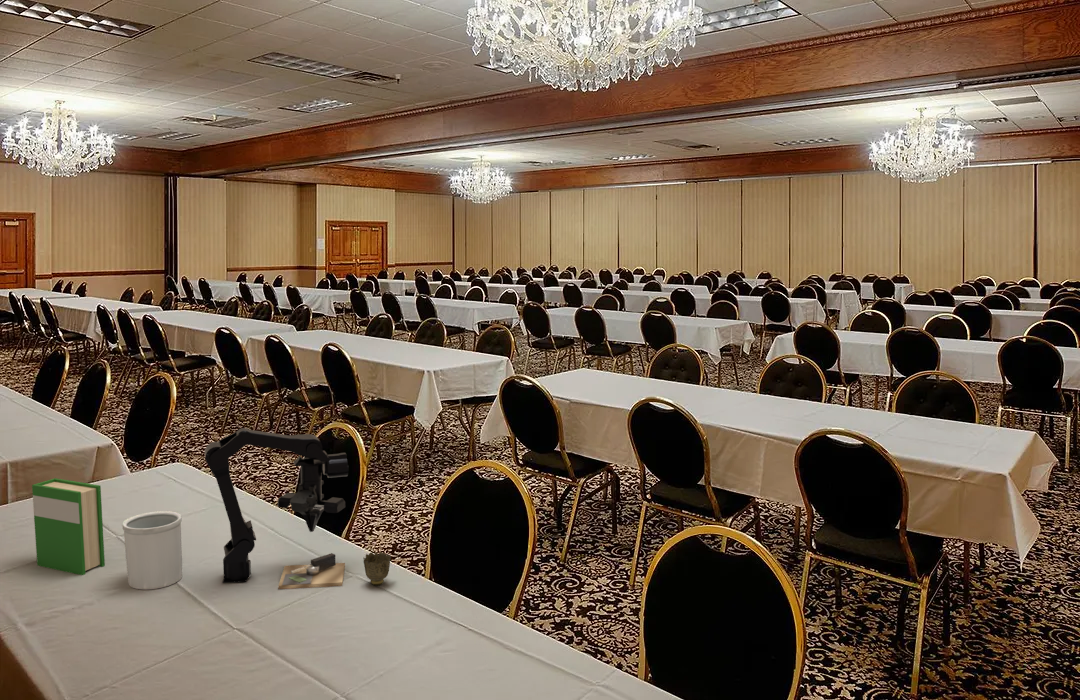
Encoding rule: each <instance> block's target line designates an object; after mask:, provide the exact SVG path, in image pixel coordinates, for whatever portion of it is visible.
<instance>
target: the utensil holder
mask: <svg viewBox="0 0 1080 700" xmlns="http://www.w3.org/2000/svg"><path fill="white" fill-rule="evenodd" d="M181 525H182V515H181V514H180V513H179V512H175V511H169V510H167V511H166V510H161V511H160V510H159V511H150V512H145V513H144V512H143V513H140V514H137V515H134V516H131V517H128V518H127V519H126V518H125V520H124V521H123V522H122V525H121V526H122V529H123V536H124V548H125V552H124V553H125V561H126V572H127V573H126V574H127V581H128V582H127V583H128V586H129V587H131V588H133V589H137V590H156V589H161V588H165V587H166V588H167V587H168V586H171V585H174V584H175V583H177V582H179V581H180V580H181V579H182V578H183V549H182V548H183V547H182V546H183V545H182V526H181Z"/></svg>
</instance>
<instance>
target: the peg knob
mask: <svg viewBox="0 0 1080 700" xmlns="http://www.w3.org/2000/svg"><path fill="white" fill-rule="evenodd" d="M336 563H337V562H336V554H335V553H332V552H331V553H328V554H325V555H322V556H318V557H316V558H312V559H310V563H309V564H306V565H307V566H304V567H301V568H298V569H295V570H292V571H291V573H295V572H298V571H301V570H304V569H306V573H307V574H309V575H314V574H318V573H319V571H320V570H323V569H326V568H329V567H332V566H335V565H336Z"/></svg>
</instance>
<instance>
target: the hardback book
mask: <svg viewBox="0 0 1080 700" xmlns="http://www.w3.org/2000/svg"><path fill="white" fill-rule="evenodd" d="M31 489H32V491H31V492H32V503H33V504H32V505H33V507H32V509H33V521H34V523H33V524H34V536H35V538H34V539H35V552H36V563H37V564H36V566H37V567H43V568H47V569H52V570H56V571H60V572H66V573H69V574H75V575H81V576H84V575H86V573H87V572H86V571H88V570H91V569H93V568H95V567H101V568H103V567H105V566H106V562H105V561H106V560H105V546H104V545H105V544H104V526H103V509H102V508H103V507H102V491H101V490H102V488H101V485H99V484H94V483H93V484H92V483H86V482H82V481H81V482H80V481H74V480H70V479H69V480H68V479H64V478H63V479H62V478H56V477H55V478H51V479H48V480H45V481H40V482H38V483H35V484H32V485H31Z"/></svg>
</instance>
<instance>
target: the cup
mask: <svg viewBox="0 0 1080 700" xmlns="http://www.w3.org/2000/svg"><path fill="white" fill-rule="evenodd" d="M362 559H363V565H364V572H365V575H366V577H367V578H368V579H369V580H370V584H371V585H372V586H375V587H379V586H382V585H383V584H384V582H385V579H386V578H387V576H388V574H389V571H390V566H391V554H389V553H387V554H386V553H385V552H382V551H380V552H379V553H378V552H377V551H376V552H375V553H374V552H370V553H366V554H365V557H364V556H363V558H362Z"/></svg>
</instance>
